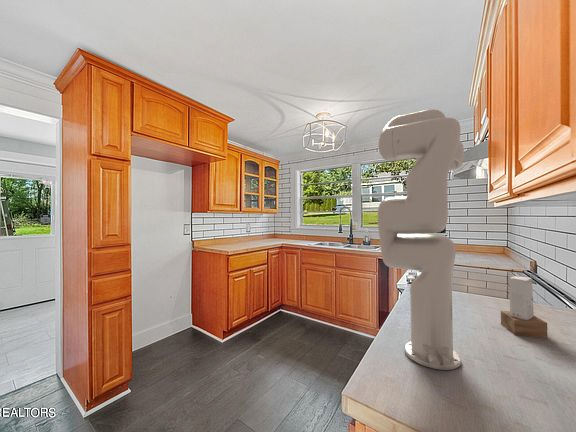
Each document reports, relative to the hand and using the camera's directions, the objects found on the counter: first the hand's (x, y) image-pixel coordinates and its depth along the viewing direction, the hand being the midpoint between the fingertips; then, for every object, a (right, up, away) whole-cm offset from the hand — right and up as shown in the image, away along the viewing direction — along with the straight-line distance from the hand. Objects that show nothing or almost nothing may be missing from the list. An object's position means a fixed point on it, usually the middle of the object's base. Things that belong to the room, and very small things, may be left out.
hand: (436, 232), depth 96 cm
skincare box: (+17, -26, -17) cm, 35 cm away
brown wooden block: (+17, -30, -17) cm, 38 cm away
